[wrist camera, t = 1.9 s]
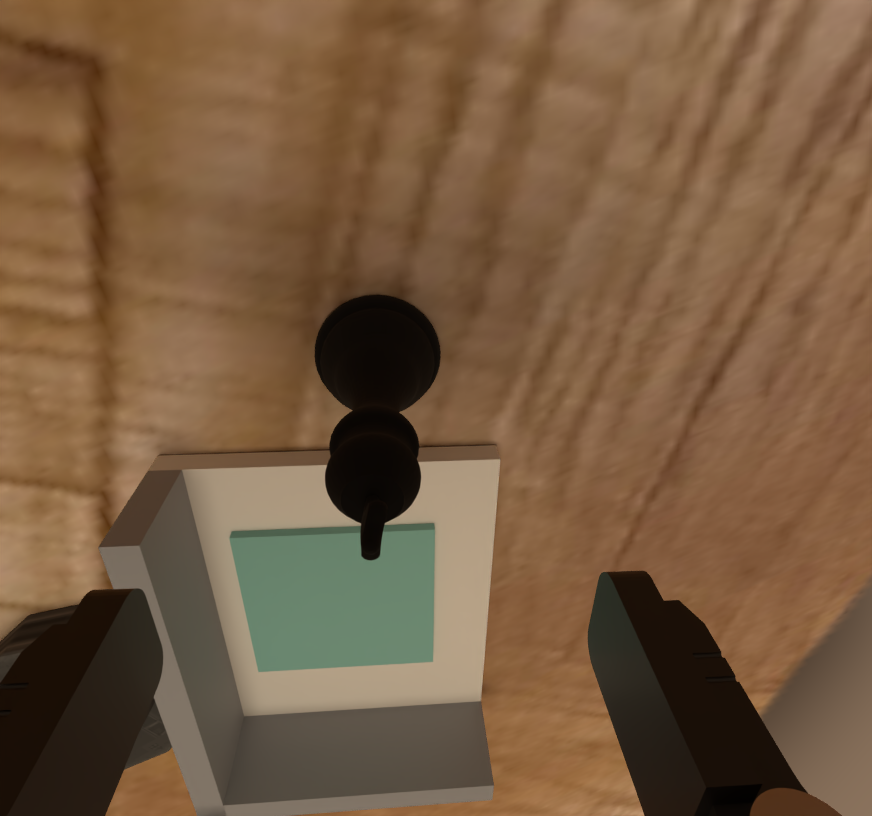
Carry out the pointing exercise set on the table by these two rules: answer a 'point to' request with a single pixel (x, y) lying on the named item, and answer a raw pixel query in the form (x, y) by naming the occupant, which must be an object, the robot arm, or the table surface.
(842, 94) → the table surface
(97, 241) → the table surface
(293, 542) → the pad
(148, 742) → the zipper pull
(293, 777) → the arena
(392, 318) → the chess piece
